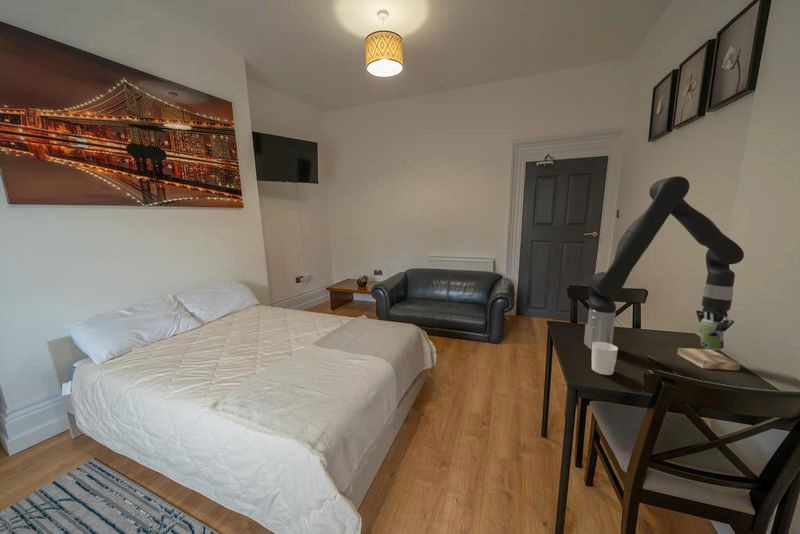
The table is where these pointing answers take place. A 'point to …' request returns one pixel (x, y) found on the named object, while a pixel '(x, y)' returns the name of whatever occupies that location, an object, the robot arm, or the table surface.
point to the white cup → (603, 357)
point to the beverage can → (711, 335)
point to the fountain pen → (660, 364)
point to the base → (708, 359)
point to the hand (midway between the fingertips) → (710, 338)
